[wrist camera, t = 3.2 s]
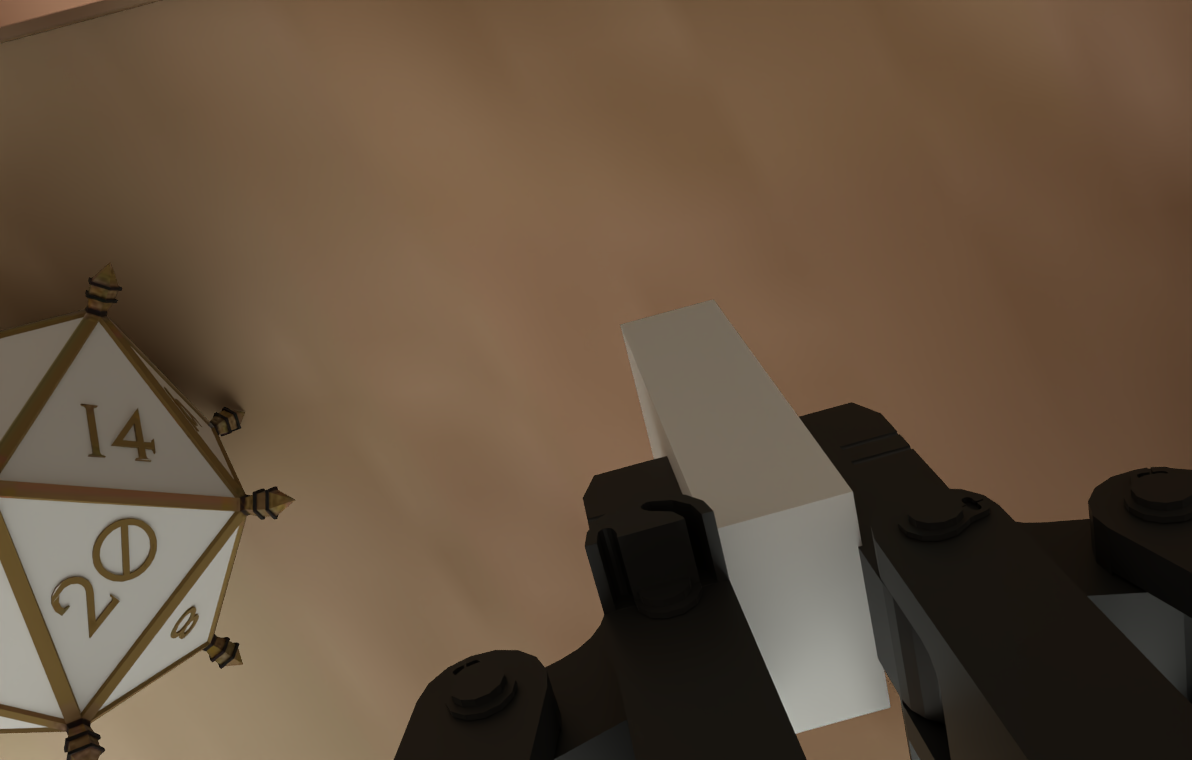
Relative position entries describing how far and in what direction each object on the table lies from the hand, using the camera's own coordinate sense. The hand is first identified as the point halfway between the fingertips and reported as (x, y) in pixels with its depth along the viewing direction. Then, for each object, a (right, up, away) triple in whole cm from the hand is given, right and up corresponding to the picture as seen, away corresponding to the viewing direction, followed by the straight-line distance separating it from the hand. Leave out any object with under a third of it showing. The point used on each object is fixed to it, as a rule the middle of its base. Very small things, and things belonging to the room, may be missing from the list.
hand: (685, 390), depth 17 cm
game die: (-12, -1, +6) cm, 14 cm away
